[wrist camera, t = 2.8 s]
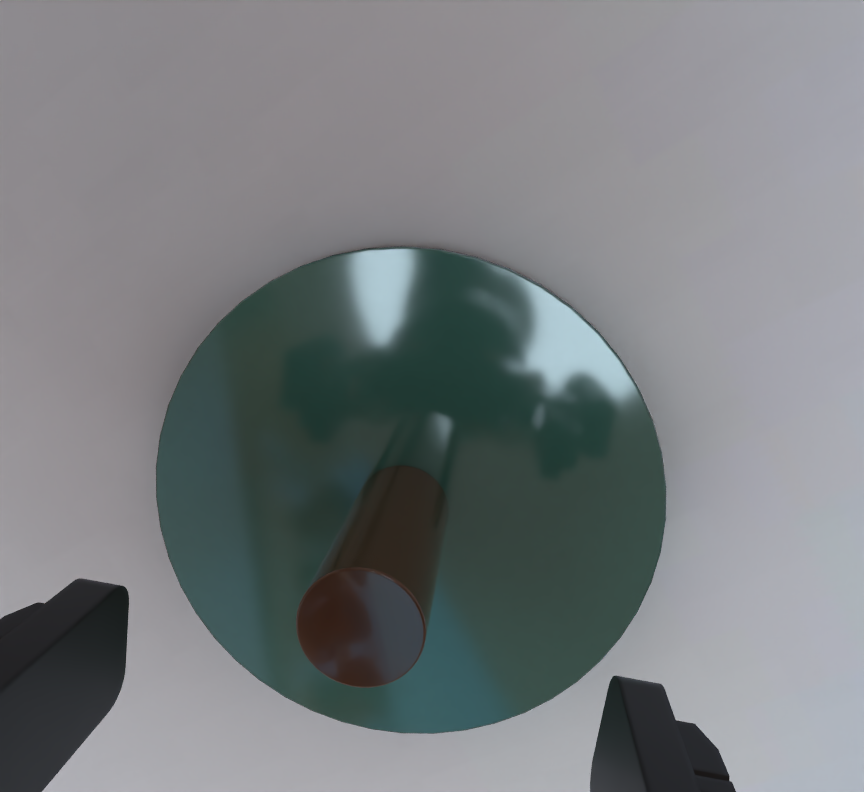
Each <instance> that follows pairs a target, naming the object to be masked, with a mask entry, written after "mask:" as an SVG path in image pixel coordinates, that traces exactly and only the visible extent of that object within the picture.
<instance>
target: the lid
mask: <svg viewBox="0 0 864 792" xmlns="http://www.w3.org/2000/svg"><path fill="white" fill-rule="evenodd" d="M156 498H157V506H158V513H159V520H160V527H161V531H162V535H163V538H164V542H165V546H166V549H167V553H168V557H169V559H170V562H171V564H172V567H173V569H174V571H175V574H176V576H177V579H178V581H179V583H180V586H181V588H182V589H183V591H184V593H185V595H186V596H187V598H188V600H189V602H190V603H191V605H192V607H193V609H194V610H195V612H196V614H197V615H198V616H199V618H200V619H201V620H202V622H203V623H204V624H205V626H206V627H207V629H208V630H209V631H210V633H211V634H212V635H213V637H214V638H215V639H216V640H217V641H218V642H219V643H220V644H221V645H222V646H223V647H224V648H225V650H226V651H227V652H228V653H229V654H230V655H231V656H232V657H233V658H234V659H235V660H236V661H237V662H238V663H240V664H241V665H242V666H243V667H244V668H246V669H247V670H248V671H249V672H250V673H251V674H253V675H254V676H255V677H256V678H257V679H259V680H260V681H262V682H263V683H265V684H266V685H268V686H269V687H271V688H272V689H274V690H275V691H277V692H278V693H280V694H281V695H283V696H284V697H286V698H288V699H290V700H292V701H294V702H296V703H298V704H300V705H302V706H304V707H306V708H308V709H310V710H312V711H314V712H317V713H319V714H322V715H325V716H328V717H330V718H333V719H336V720H338V721H341V722H345V723H349V724H353V725H357V726H361V727H365V728H369V729H374V730H382V731H390V732H397V733H428V734H434V733H444V732H454V731H463V730H468V729H473V728H477V727H481V726H486V725H490V724H495V723H497V722H500V721H503V720H506V719H509V718H511V717H514V716H517V715H520V714H523V713H525V712H527V711H529V710H531V709H533V708H535V707H537V706H539V705H541V704H543V703H545V702H547V701H549V700H551V699H552V698H554V697H555V696H557V695H558V694H560V693H561V692H563V691H564V690H566V689H567V688H569V687H570V686H571V685H573V684H574V683H576V682H577V681H578V680H580V679H581V678H582V677H583V676H584V675H585V674H586V673H587V672H589V671H590V670H591V669H592V668H593V667H594V666H595V665H596V664H598V663H599V662H600V661H601V660H602V659H603V657H604V656H605V655H606V654H607V653H608V652H609V650H610V649H611V648H612V647H613V646H614V645H615V643H616V642H617V641H618V640H619V639H620V638H621V636H622V635H623V633H624V632H625V630H626V628H627V627H628V625H629V624H630V622H631V621H632V619H633V618H634V616H635V615H636V613H637V612H638V610H639V607H640V605H641V603H642V601H643V599H644V597H645V595H646V592H647V590H648V588H649V586H650V584H651V582H652V578H653V575H654V572H655V569H656V565H657V562H658V559H659V556H660V552H661V547H662V540H663V534H664V527H665V521H666V481H665V474H664V466H663V458H662V452H661V448H660V445H659V441H658V438H657V434H656V430H655V427H654V423H653V420H652V418H651V415H650V413H649V411H648V408H647V406H646V404H645V402H644V399H643V397H642V395H641V392H640V390H639V388H638V387H637V385H636V383H635V382H634V380H633V378H632V377H631V375H630V373H629V372H628V370H627V369H626V367H625V365H624V364H623V362H622V360H621V359H620V358H619V356H618V355H617V354H616V353H615V351H614V350H613V349H612V348H611V347H610V345H609V344H608V343H607V342H606V340H605V339H604V338H603V337H602V336H601V334H600V333H599V332H598V331H597V330H596V329H595V328H594V327H593V326H592V325H591V324H590V323H589V322H587V321H586V320H585V319H584V318H583V317H582V316H581V315H580V314H579V313H578V312H577V311H576V310H575V309H573V308H572V307H571V306H570V305H569V304H567V303H566V302H565V301H563V300H562V299H560V298H559V297H557V296H556V295H555V294H553V293H552V292H550V291H549V290H548V289H546V288H545V287H543V286H542V285H540V284H538V283H536V282H534V281H532V280H530V279H529V278H527V277H525V276H523V275H521V274H519V273H517V272H515V271H513V270H511V269H509V268H506V267H504V266H501V265H498V264H495V263H493V262H490V261H487V260H484V259H482V258H479V257H476V256H471V255H467V254H462V253H458V252H453V251H448V250H444V249H435V248H423V247H410V246H400V247H382V248H368V249H362V250H357V251H352V252H347V253H342V254H336V255H332V256H329V257H326V258H323V259H320V260H318V261H315V262H312V263H309V264H306V265H303V266H300V267H298V268H296V269H294V270H292V271H290V272H288V273H286V274H284V275H282V276H280V277H278V278H276V279H274V280H272V281H270V282H269V283H267V284H266V285H264V286H263V287H261V288H260V289H259V290H257V291H256V292H254V293H253V294H251V295H250V296H248V297H247V298H246V299H244V300H243V301H241V302H240V303H239V304H238V305H237V306H236V307H235V308H234V309H233V310H232V311H231V312H230V313H228V314H227V315H226V316H225V317H224V318H223V319H222V320H221V321H220V322H219V323H218V324H217V325H216V326H215V327H214V329H213V330H212V331H211V332H210V334H209V335H208V336H207V337H206V338H205V340H204V341H203V342H202V343H201V345H200V346H199V347H198V348H197V350H196V352H195V353H194V355H193V357H192V358H191V360H190V361H189V363H188V365H187V366H186V368H185V370H184V371H183V373H182V375H181V377H180V379H179V381H178V384H177V386H176V388H175V391H174V393H173V395H172V398H171V400H170V402H169V405H168V408H167V412H166V416H165V419H164V423H163V427H162V430H161V434H160V440H159V448H158V456H157V464H156Z"/></svg>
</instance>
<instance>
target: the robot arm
mask: <svg viewBox="0 0 864 792" xmlns="http://www.w3.org/2000/svg"><path fill="white" fill-rule="evenodd" d="M128 608H129V596H128V591H127V589H126V588H125V587H124V586H120V585H115V584H109V583H104V582H98V581H92V580H87V579H77V580H75V581H73V582H72V583H71V584H69V585H68V586H67V587H66V588H64V589H63V590H62V591H60V592H59V593H58V594H57V595H55V596H54V597H53V598H52V599H50V600H49V601H48V602H47V603H45V604H44V603H35V604H33V605H30V606H28V607H26V608H23V609H21V610H18V611H16V612H14V613H11V614H9V615H6V616H4V617H3V618H1V619H0V792H42V791H43V790H44V788H45V787H46V786H47V785H48V784H49V782H50V781H51V780H52V779H53V778H54V776H55V775H56V774H57V773H58V772H59V770H60V769H61V768H62V767H63V766H64V765H65V763H66V762H67V761H68V760H69V759H70V757H71V756H72V755H73V754H74V753H75V751H76V750H77V749H78V748H79V747H80V745H81V744H82V743H83V742H84V741H85V740H86V738H87V737H88V736H89V735H90V734H91V732H92V731H93V730H94V729H95V728H96V726H97V725H98V724H99V723H100V722H101V720H102V719H103V718H104V717H105V716H106V715H107V713H108V712H109V711H110V709H111V708H112V707H113V705H114V703H115V701H116V699H117V697H118V695H119V693H120V690H121V687H122V684H123V680H124V675H125V667H126V647H127V628H128ZM590 792H736V791H735V789H734V786H733V784H732V782H729V774H728V772H727V769H726V767H725V765H724V762H723V760H722V758H721V755H720V753H719V750H718V749H717V748H716V747H715V745H714V744H713V743H712V742H711V741H710V740H709V739H708V738H707V737H706V736H705V735H704V733H703V732H702V731H701V730H700V729H699V728H698V727H697V726H696V725H695V724H693V723H687V722H682V721H676V720H675V717H674V714H673V711H672V709H671V706H670V703H669V700H668V697H667V695H666V692H665V689H664V687H663V686H662V685H661V684H658V683H653V682H647V681H642V680H636V679H631V678H625V677H619V676H613V677H612V679H611V681H610V684H609V688H608V692H607V696H606V701H605V706H604V710H603V715H602V719H601V724H600V729H599V733H598V738H597V742H596V747H595V752H594V756H593V761H592V769H591V780H590Z"/></svg>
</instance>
